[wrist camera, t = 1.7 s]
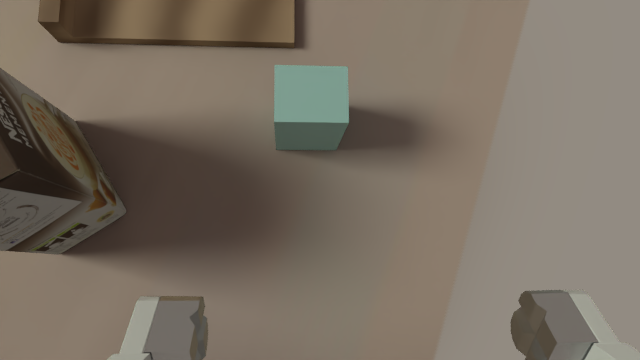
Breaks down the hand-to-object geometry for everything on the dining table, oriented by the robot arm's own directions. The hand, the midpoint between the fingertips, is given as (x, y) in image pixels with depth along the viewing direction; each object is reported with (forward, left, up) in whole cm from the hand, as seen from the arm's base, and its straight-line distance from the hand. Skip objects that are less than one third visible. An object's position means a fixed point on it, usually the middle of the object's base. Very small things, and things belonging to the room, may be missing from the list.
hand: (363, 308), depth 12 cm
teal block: (0, +12, -26) cm, 29 cm away
